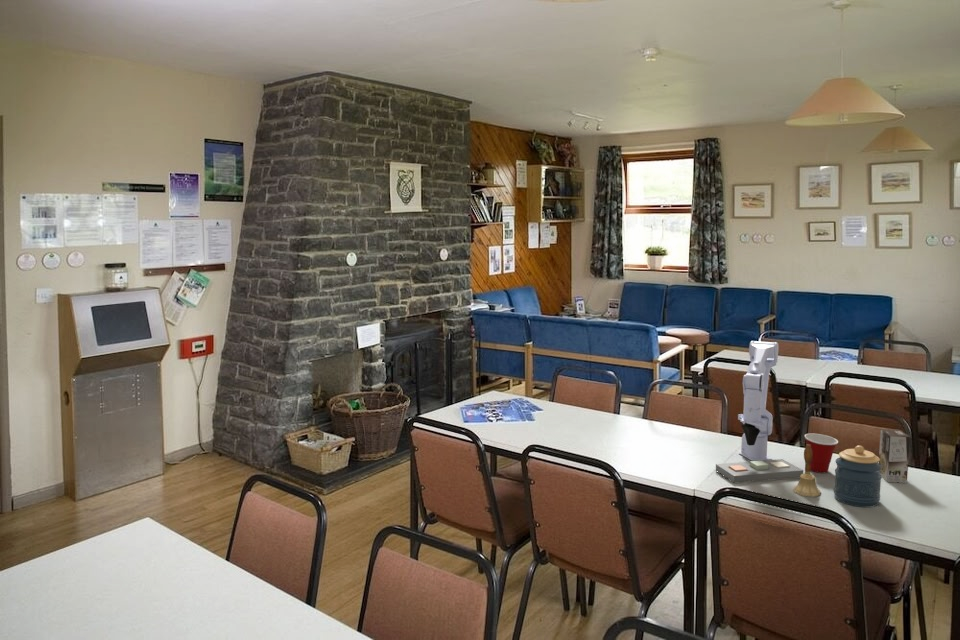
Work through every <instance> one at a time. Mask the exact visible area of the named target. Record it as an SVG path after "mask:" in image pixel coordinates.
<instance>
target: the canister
mask: <svg viewBox="0 0 960 640" xmlns="http://www.w3.org/2000/svg"><path fill="white" fill-rule="evenodd" d="M838 456H839V457H837V458H836V459H835V464H836V468H835V469H834V474H835V476H834V488H833V494H834V498H835V499H836V500H837V501H839V502H841V503H844V504H846V505H849V506H855V507H862V508H865V507H867V508H868V507H869V508H872V507H875V506H878V505H879V503H880V501H881V486H882V485H881V482H882V478H883V477H882V476H881V475H880V470H881V469H882V465H881V464H880V463H879V461H880V459H879V456H878V455H876V454H875V453H874V452H872V451H869V450H866V449H865V447H864V446H862V445H856V446H855V447H854V448H847V449H844V450H842V451H840V452H839V453H838Z"/></svg>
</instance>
